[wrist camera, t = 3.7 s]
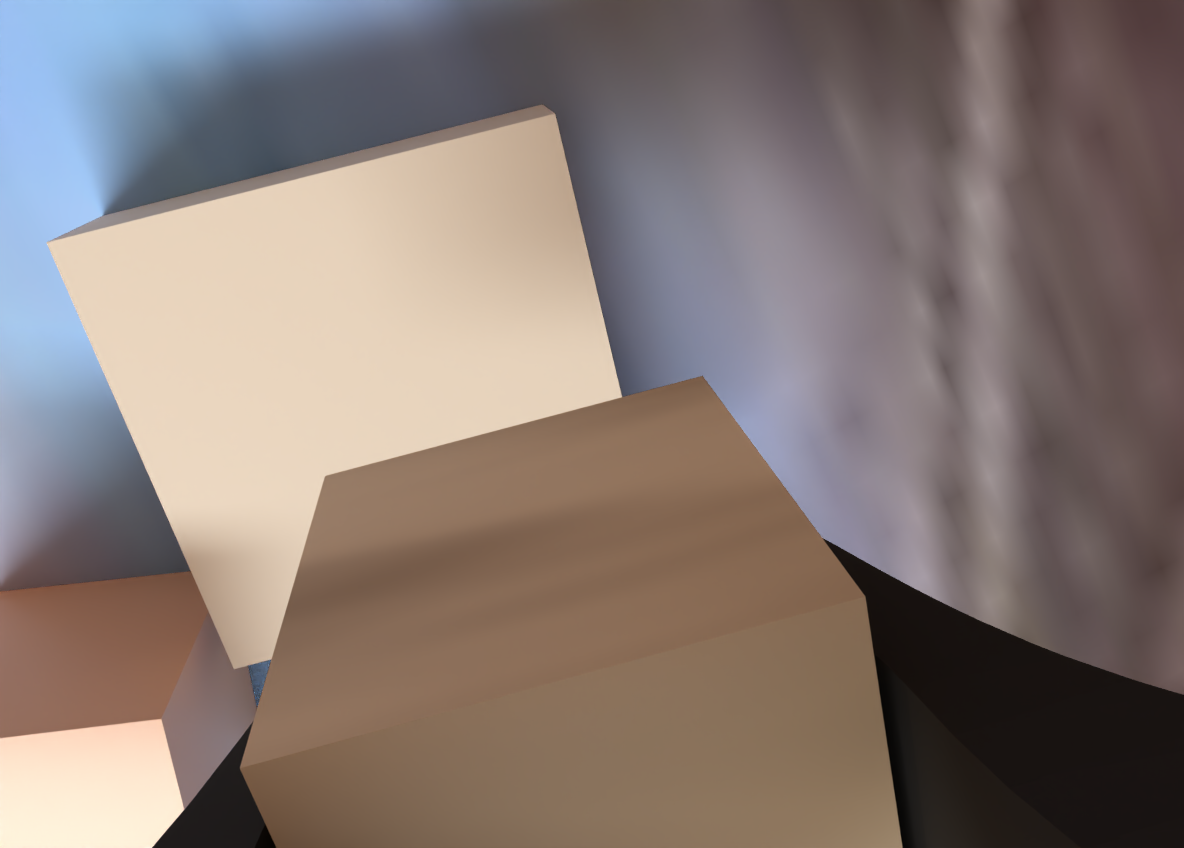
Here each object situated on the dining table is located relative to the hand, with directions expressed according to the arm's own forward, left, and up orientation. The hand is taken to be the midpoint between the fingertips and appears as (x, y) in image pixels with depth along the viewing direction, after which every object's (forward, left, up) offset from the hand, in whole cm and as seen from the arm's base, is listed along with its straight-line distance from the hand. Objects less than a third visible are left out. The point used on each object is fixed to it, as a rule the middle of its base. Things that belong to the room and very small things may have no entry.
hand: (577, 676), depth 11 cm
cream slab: (+1, +2, -10) cm, 10 cm away
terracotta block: (-4, +9, -10) cm, 14 cm away
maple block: (0, 0, -2) cm, 2 cm away
